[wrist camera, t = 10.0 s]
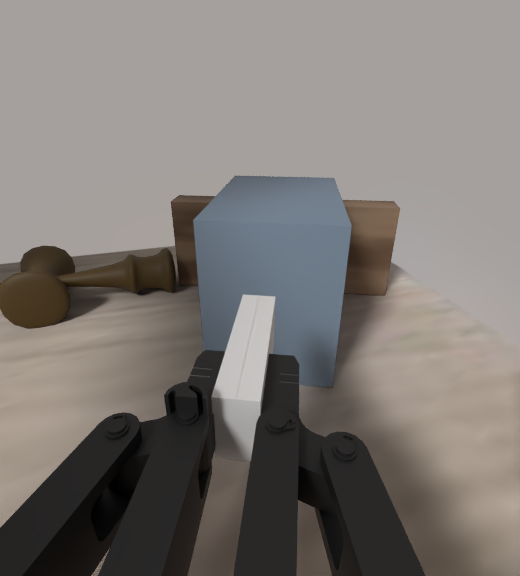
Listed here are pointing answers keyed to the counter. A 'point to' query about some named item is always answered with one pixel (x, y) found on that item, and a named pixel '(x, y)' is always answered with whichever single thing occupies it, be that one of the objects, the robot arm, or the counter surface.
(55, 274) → the kendama
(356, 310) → the counter surface
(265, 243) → the block
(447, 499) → the counter surface
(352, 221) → the board
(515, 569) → the counter surface
